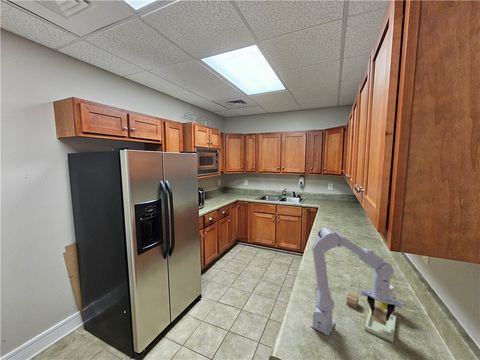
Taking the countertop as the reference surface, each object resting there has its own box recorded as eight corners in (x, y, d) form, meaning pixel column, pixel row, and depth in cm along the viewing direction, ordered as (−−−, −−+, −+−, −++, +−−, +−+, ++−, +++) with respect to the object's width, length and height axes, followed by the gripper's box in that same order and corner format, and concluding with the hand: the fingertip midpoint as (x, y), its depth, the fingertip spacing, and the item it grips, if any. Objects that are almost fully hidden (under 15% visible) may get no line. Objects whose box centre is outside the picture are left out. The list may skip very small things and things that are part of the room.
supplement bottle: (380, 313, 99) (381, 288, 98) (376, 304, 105) (377, 280, 104) (397, 316, 97) (398, 291, 96) (392, 307, 103) (393, 283, 102)
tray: (393, 343, 83) (393, 338, 83) (364, 330, 89) (364, 326, 89) (395, 320, 95) (396, 316, 95) (370, 310, 101) (370, 306, 101)
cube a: (387, 319, 89) (387, 309, 89) (385, 325, 86) (386, 315, 86) (374, 314, 92) (375, 305, 92) (373, 320, 89) (373, 310, 89)
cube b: (356, 308, 103) (356, 300, 102) (346, 304, 106) (346, 296, 105) (358, 304, 106) (358, 295, 106) (348, 300, 109) (348, 292, 109)
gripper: (403, 289, 86) (401, 319, 87) (363, 277, 96) (363, 304, 97) (402, 297, 81) (401, 329, 82) (360, 283, 90) (359, 312, 91)
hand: (380, 316), depth 89 cm, fingers closed on cube a, 4 cm apart
